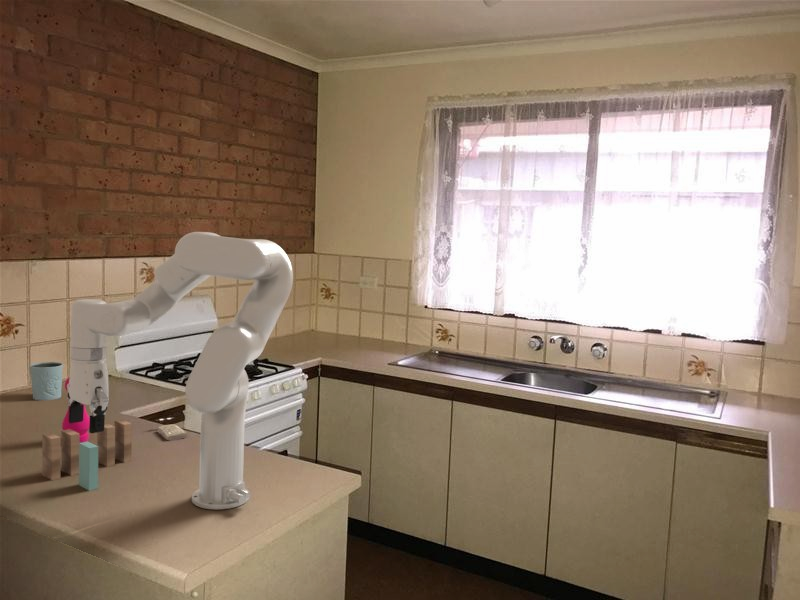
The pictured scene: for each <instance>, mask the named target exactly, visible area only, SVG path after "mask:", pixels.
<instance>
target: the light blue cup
mask: <svg viewBox="0 0 800 600" xmlns="http://www.w3.org/2000/svg"><path fill="white" fill-rule="evenodd" d="M63 367H64V363H63V362H57V361H46V362H45V361H44V362H43V361H42V362H36V363H33V364H30V365H29V372H30V382H31V392H32V399H33V400H34V399H35V401H41V400H44V401H52V400H53V401H54V400H58V399H60V398H62V385H63Z"/></svg>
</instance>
